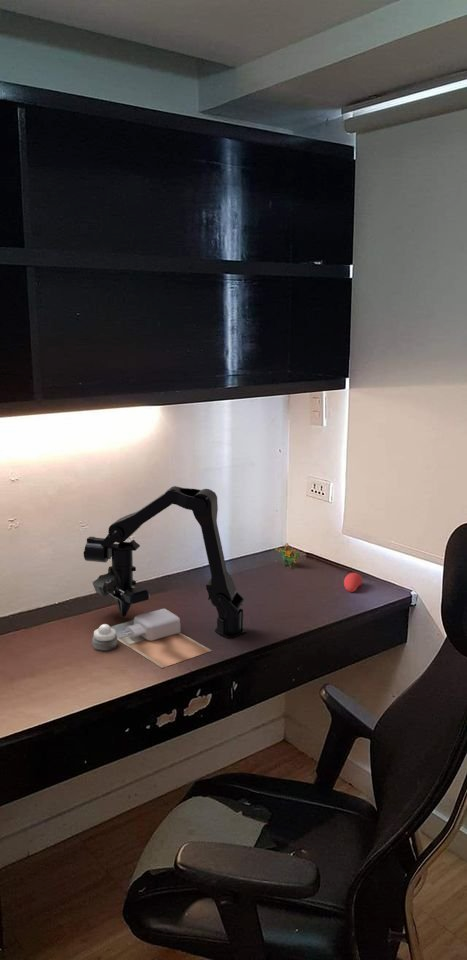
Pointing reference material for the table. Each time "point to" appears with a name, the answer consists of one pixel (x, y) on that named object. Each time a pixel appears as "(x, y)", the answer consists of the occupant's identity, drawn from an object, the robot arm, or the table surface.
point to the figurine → (289, 555)
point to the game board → (155, 646)
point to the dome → (104, 633)
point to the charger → (154, 625)
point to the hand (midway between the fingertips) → (123, 616)
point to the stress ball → (352, 581)
